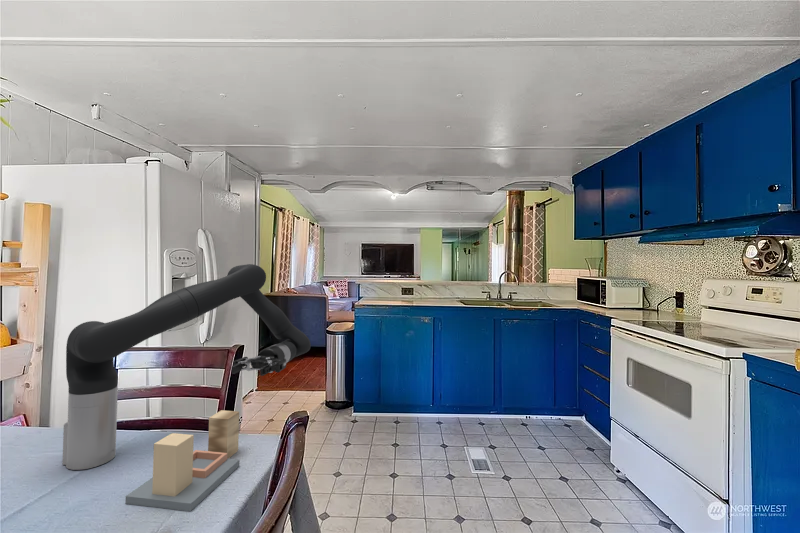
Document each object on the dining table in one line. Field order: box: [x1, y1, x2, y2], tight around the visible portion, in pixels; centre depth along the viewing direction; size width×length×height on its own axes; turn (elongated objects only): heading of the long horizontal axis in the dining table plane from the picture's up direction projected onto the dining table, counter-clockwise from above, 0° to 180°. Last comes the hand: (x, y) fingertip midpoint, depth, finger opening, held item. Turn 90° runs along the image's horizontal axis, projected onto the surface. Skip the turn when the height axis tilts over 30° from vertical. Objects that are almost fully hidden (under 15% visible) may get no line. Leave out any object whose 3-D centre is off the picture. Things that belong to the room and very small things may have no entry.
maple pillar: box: [207, 409, 240, 459], centre depth 94 cm, size 5×5×10 cm
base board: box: [125, 432, 241, 512], centre depth 81 cm, size 14×17×12 cm
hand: (247, 371), depth 104 cm, fingers open, 8 cm apart
